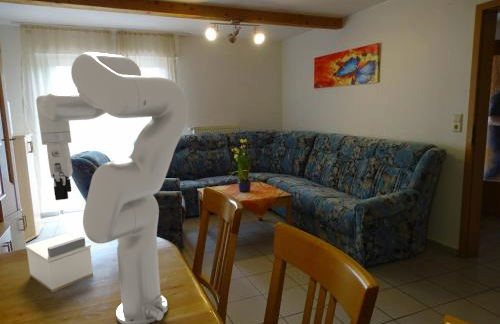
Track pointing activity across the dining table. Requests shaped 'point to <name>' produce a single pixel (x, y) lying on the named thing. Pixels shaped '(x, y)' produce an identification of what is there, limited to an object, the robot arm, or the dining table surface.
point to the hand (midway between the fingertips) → (63, 195)
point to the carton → (61, 269)
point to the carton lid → (58, 247)
